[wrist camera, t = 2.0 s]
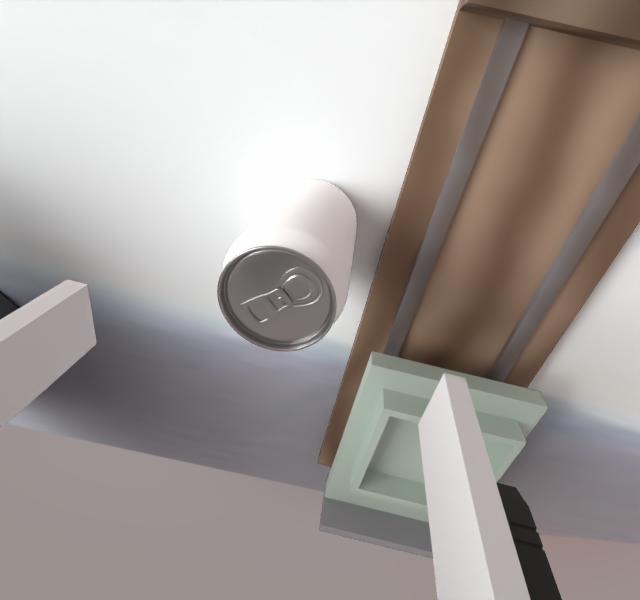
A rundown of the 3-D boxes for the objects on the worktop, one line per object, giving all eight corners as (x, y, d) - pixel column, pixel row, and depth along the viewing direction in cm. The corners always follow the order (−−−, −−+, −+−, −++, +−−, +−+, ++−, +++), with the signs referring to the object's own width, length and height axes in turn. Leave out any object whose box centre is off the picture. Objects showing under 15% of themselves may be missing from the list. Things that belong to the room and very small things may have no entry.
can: (373, 236, 27) (372, 326, 17) (303, 275, 29) (264, 375, 19) (325, 158, 25) (290, 207, 14) (254, 208, 27) (179, 280, 17)
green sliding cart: (326, 469, 38) (319, 530, 33) (371, 335, 29) (371, 390, 24) (446, 498, 38) (458, 564, 33) (530, 373, 29) (565, 437, 24)
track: (319, 455, 40) (315, 480, 38) (466, -22, 19) (480, -40, 17) (451, 487, 40) (456, 515, 38) (746, 40, 19) (803, 33, 16)
